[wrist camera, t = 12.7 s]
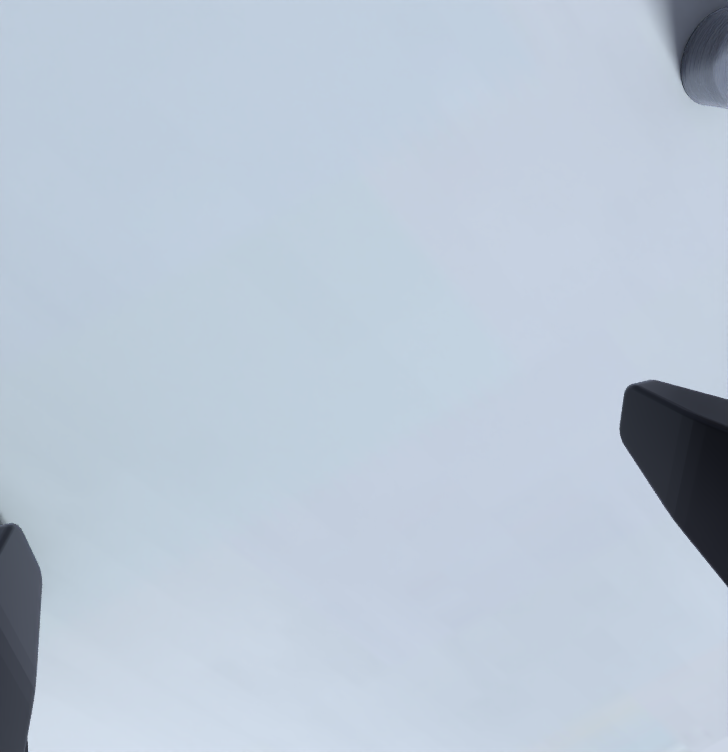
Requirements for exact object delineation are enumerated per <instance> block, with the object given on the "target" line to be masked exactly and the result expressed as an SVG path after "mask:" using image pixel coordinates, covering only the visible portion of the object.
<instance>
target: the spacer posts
mask: <svg viewBox="0 0 728 752" xmlns="http://www.w3.org/2000/svg"><path fill="white" fill-rule="evenodd" d="M681 76H682V82H683V86H684V89H685V91H686V93H687V94H688V96H689V97H690V98H691V99H692V100H693V101H695V102H696V103H698V104H701V105H706V106H713V107H720V108H727V109H728V7H725V8H722V9H719V10H717V11H715V12H713V13H712V14H711V15H709V16H708V17H707V18H706V19H704V20H703V21H702V22H701V23H700V25H699V26H698V27H697V28H696V30H695V31H694V33H693V34H692V36H691V37H690V39H689V41H688V43H687V46H686V49H685V52H684V55H683V59H682V67H681Z"/></svg>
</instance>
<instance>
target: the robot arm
mask: <svg viewBox="0 0 728 752" xmlns="http://www.w3.org/2000/svg"><path fill="white" fill-rule="evenodd" d="M620 436H621V439H622V442H623V444H624V445H625V447H626V449H627V450H628V452H629V453H630V455H631V456H632V458H633V459H634V461H635V462H636V464H637V465H638V467H639V468H640V470H641V471H642V473H643V475H644V476H645V478H646V479H647V481H648V482H649V484H650V485H651V487H652V488H653V490H654V491H655V493H656V494H657V496H658V497H659V499H660V501H661V502H662V504H663V505H664V507H665V508H666V510H667V511H668V512H669V514H670V515H671V517H672V518H673V520H674V521H675V522H676V523H677V525H678V526H679V527H680V529H681V530H682V531H683V533H684V534H685V535H686V536H687V537H688V539H689V540H690V541H691V542H692V544H693V545H694V546H695V547H696V549H697V550H698V551H699V552H700V553H701V555H702V556H703V557H704V558H705V560H706V561H707V562H708V563H709V565H710V566H711V567H712V568H713V569H714V571H715V572H716V573H717V574H718V576H719V577H720V578H721V579H722V581H723V582H724V583H725V584H726V586H727V587H728V399H724V398H720V397H716V396H713V395H709V394H705V393H702V392H698V391H694V390H690V389H687V388H683V387H679V386H676V385H672V384H668V383H665V382H661V381H657V380H648V381H643V382H639V383H634V384H631V385H629V386H628V387H627V388H626V390H625V393H624V398H623V406H622V413H621V420H620ZM41 594H42V576H41V571H40V567H39V565H38V563H37V561H36V558H35V556H34V554H33V552H32V550H31V548H30V546H29V544H28V542H27V539H26V537H25V535H24V533H23V531H22V529H21V528H20V527H19V526H18V525H16V524H14V523H9V524H4V525H0V752H28V741H27V735H28V730H29V725H30V719H31V714H32V708H33V701H34V695H35V687H36V676H37V661H38V644H39V628H40V611H41Z"/></svg>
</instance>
